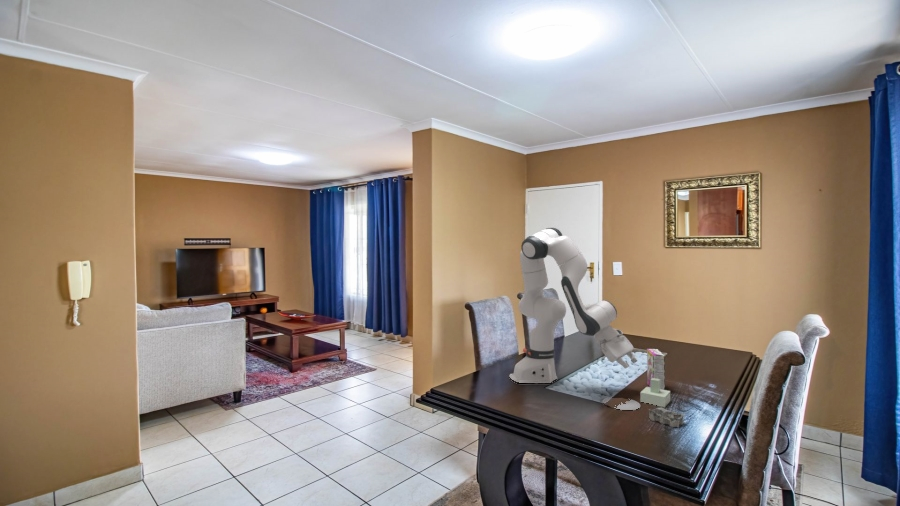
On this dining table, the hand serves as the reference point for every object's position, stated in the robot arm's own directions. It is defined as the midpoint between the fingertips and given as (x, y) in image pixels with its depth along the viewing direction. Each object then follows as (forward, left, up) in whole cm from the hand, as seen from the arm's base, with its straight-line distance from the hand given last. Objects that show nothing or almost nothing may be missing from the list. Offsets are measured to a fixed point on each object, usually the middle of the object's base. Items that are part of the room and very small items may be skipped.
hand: (631, 364), depth 180 cm
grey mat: (-8, -6, -14) cm, 17 cm away
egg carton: (-2, -24, -14) cm, 28 cm away
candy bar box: (+17, +8, -14) cm, 24 cm away
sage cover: (+7, -6, -14) cm, 16 cm away
